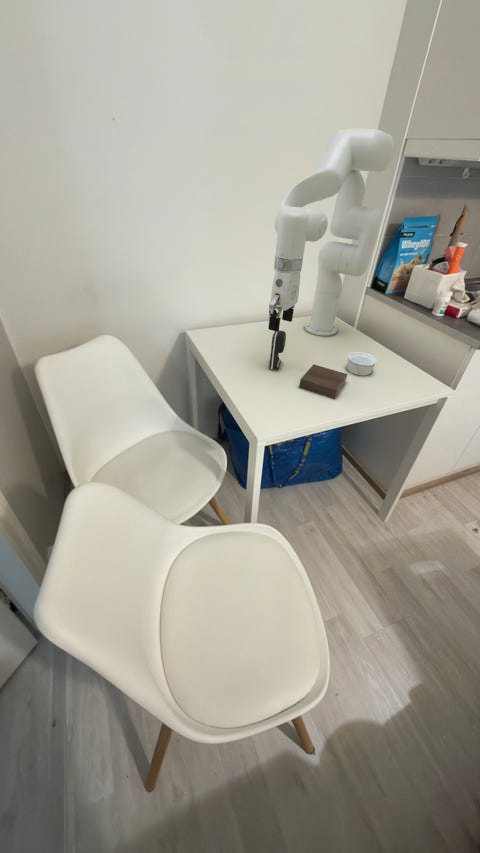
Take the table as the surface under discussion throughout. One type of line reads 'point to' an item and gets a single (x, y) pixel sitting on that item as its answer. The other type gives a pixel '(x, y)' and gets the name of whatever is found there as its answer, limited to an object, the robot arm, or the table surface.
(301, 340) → the table surface
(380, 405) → the table surface
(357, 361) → the ramekin
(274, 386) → the table surface
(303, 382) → the brown flat block
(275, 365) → the battery charger
